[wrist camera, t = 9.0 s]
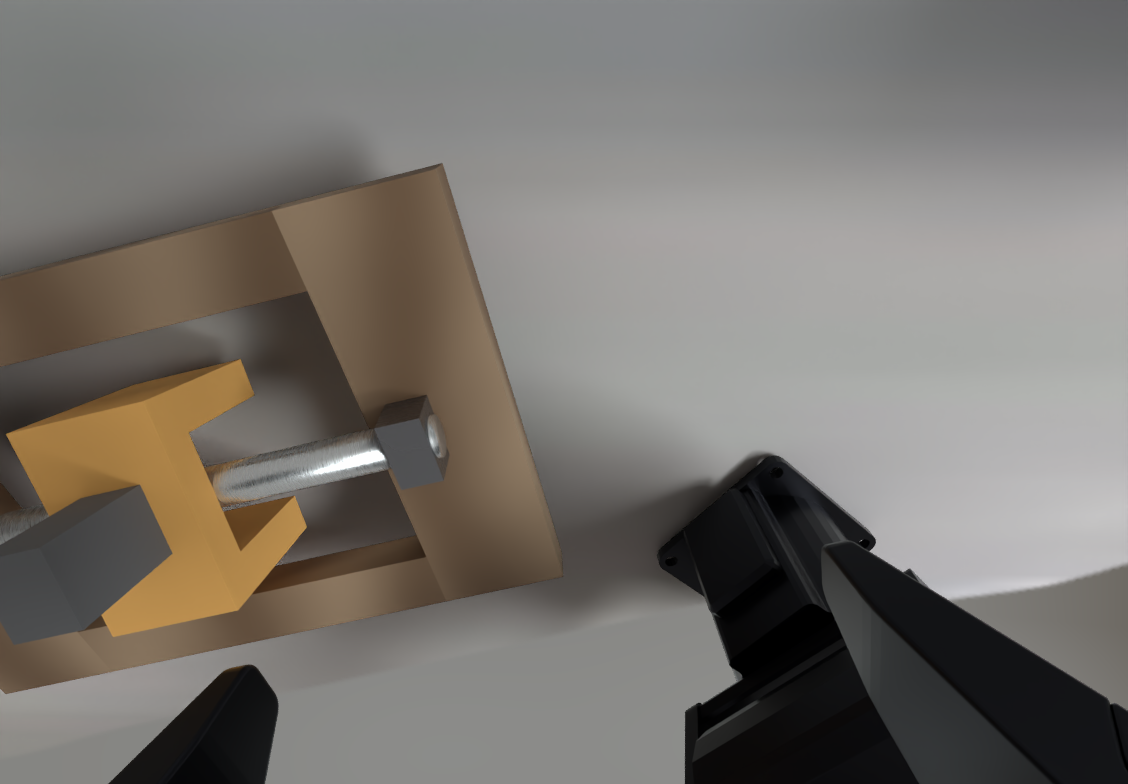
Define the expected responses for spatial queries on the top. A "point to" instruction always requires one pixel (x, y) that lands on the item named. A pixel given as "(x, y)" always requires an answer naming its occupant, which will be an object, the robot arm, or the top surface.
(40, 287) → the wooden frame with rod
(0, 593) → the yellow block
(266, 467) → the silver metal rod
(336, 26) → the top surface
